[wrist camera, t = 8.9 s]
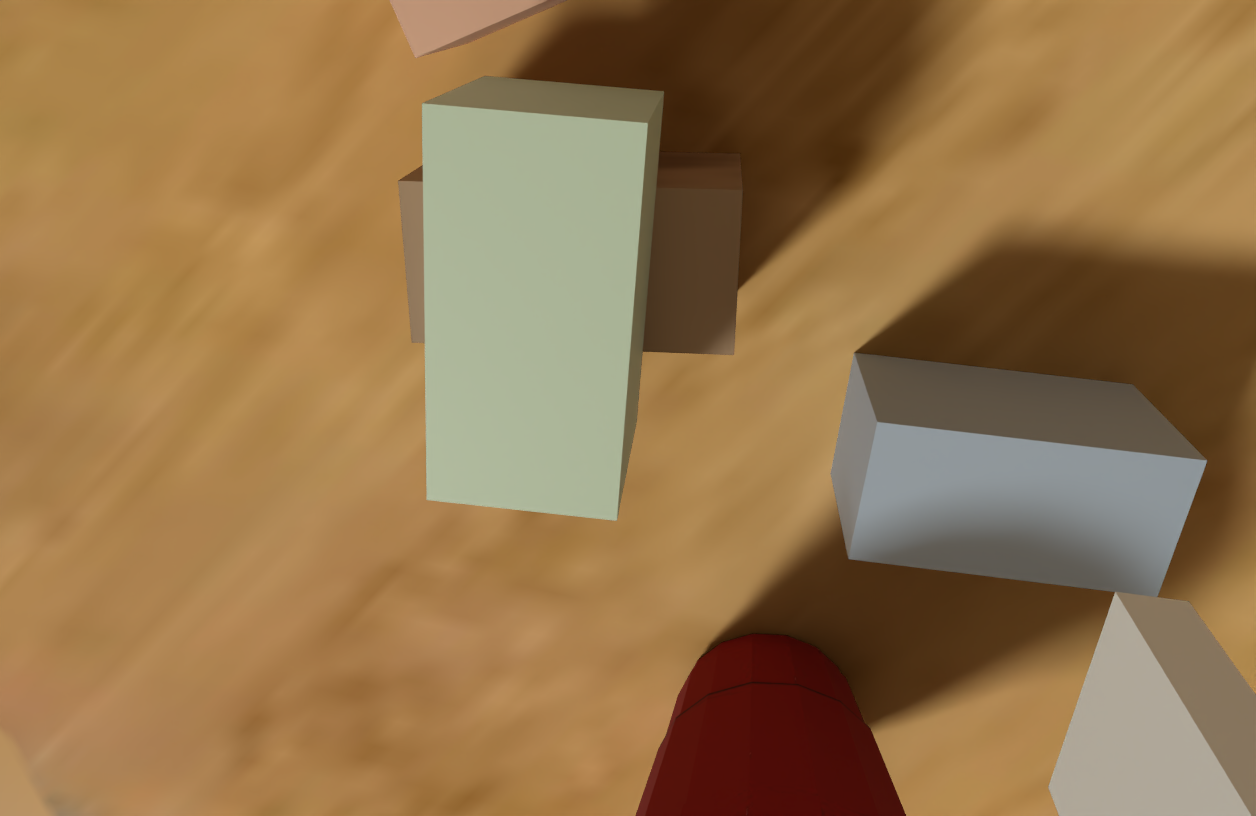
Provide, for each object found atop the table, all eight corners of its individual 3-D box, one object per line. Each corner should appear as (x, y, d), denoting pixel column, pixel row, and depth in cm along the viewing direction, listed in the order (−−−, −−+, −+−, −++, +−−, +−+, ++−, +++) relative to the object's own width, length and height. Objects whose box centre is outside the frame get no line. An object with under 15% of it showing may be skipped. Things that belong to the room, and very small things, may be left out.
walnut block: (739, 152, 27) (743, 189, 23) (732, 294, 29) (733, 354, 24) (451, 146, 28) (398, 180, 23) (460, 284, 29) (411, 342, 25)
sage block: (485, 75, 22) (421, 102, 18) (664, 91, 22) (648, 123, 17) (480, 404, 25) (426, 499, 21) (636, 421, 25) (616, 520, 21)
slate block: (1131, 382, 29) (1207, 460, 24) (1092, 502, 30) (1157, 597, 26) (853, 351, 29) (877, 421, 25) (830, 471, 31) (848, 559, 26)
